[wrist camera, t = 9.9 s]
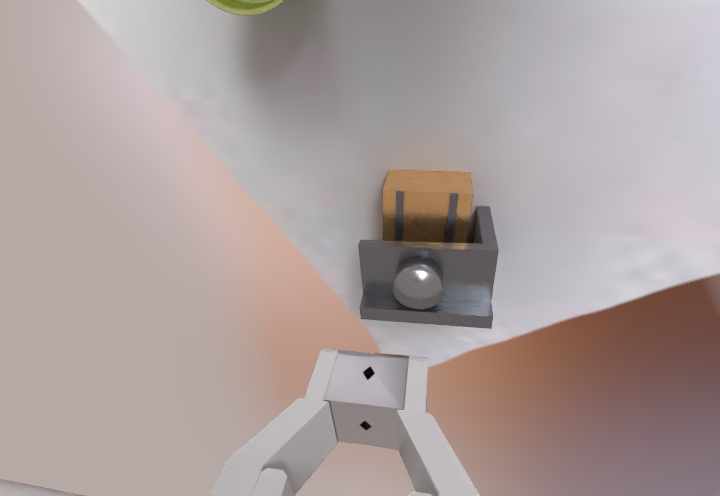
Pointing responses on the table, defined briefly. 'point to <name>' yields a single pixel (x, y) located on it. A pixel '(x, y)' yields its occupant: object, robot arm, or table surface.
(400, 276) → the bracket
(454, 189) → the block
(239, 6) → the plant pot
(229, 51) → the table surface
